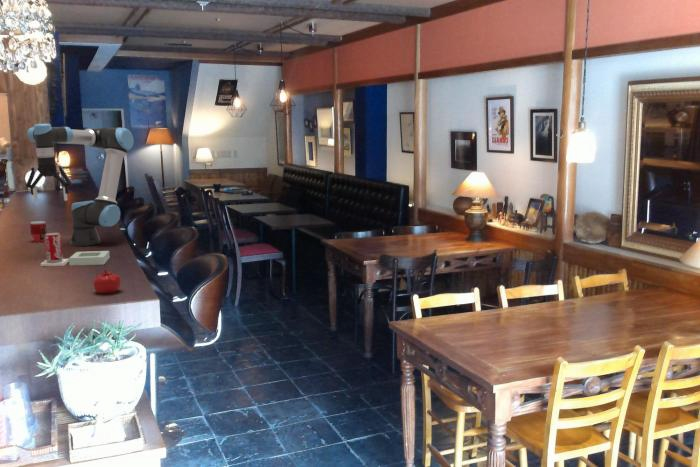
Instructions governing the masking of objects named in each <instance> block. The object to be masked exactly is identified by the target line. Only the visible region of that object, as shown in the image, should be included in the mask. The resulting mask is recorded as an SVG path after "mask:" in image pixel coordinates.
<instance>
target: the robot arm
mask: <svg viewBox="0 0 700 467" xmlns="http://www.w3.org/2000/svg"><path fill="white" fill-rule="evenodd" d="M26 134H27V137H28V138H27V139H28V140H29V141H30V142H31V143H35V149H36V156H37V166H38V167H35V166H33V167H31V168H30V169H31V171H30V173H29V174H30V175H29V177H28V180H27V181H26V184H25V187H26V188H29V189H30V194H31V195H32V196H33V200H34V201H33V202H34V203H38V202H39V201H38V200H39V197H38V190H37V187H36V186H37V184H38V183H40V182H39V181H40V180H41V179H42V178H43V177H53V178H55V179H56V181H58V182H59V183H60V184H61V185H62V186H63V187H62V192H63V200H64V202H66V201H68V194H69V193H70V191H69V190H70V189H69V187H70V186H72V185H73V182H72V181H71V179H70V178H69V176H68V175H67V173H66V171H65V170H64V167H63V166H61V165H60V166H56V157H55V148H54V144H65V145H66V144H69V145H84V146H86V147H90V148H92V147H93V148H97V149H101V150H102V149H103V150H104V152H105V154H106V156H105V161H104V166H103V171H102V177H101V181H100V186H99V192H98V196H97V197H96V198H94V200H85V201H79V202H78V201H77V202H73V203H72V204H71V210H70V212H71V222H72V224H71V225H72V232H71V236H70V240H69V242H70V243H69V244H70V245H71V246H74V247H75V246H76V247H85V246H93V245H94V246H96V245H99V244H101V238H100V234H99V232H98V231H97V227H98V226H99V227H105V228H106V227H113V226H115V225H116V224H118V223H119V221H120V219H121V209H120V207H119V206H118V202H117V201H116V198H117V193H118V192H117V191H118V188H119V183H120V182H119V181H120V176H121V171H122V165H123V161H124V157H126V156H127V155H128V151H129V150H131V149H132V148H133V146H134V144H135V143H134V142H135V141H134V140H135V139H134V136H133V134H132V132H131V131H130V130H129V129H128V128H126V127H120V126H119V127H99V128H86V129H71V127H69V126H52V125H51V123H35V124H34V125H33V126H32V127H30V128H29V129H28V130H27V133H26ZM57 171H58V172H59V173H60V175H61V176H62V177H63V178H62V177H61V176H60V175H59V174H58V173H57ZM37 172H38V173H39V174H38V175H37V177H36V178H35V175H36V173H37ZM34 178H35V179H34ZM33 180H34V181H33Z"/></svg>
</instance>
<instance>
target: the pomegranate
mask: <svg viewBox="0 0 700 467" xmlns="http://www.w3.org/2000/svg"><path fill="white" fill-rule="evenodd" d="M103 271H104V273H103V272H97V274H98V275H97V276H95V278H94V280H93V283H92V284H93V288H94V290H95V292H96V293H97V294H101V295H102V294H103V295H104V294H113V293H115V292H117V291H119V289H120V288H121V283H122V282H121V281H122V279H121V277H120V276H119V275H118V274H117V273H115V272H116V271H113V270H112V271H109V272H108V270H107V268H104V269H103Z"/></svg>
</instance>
